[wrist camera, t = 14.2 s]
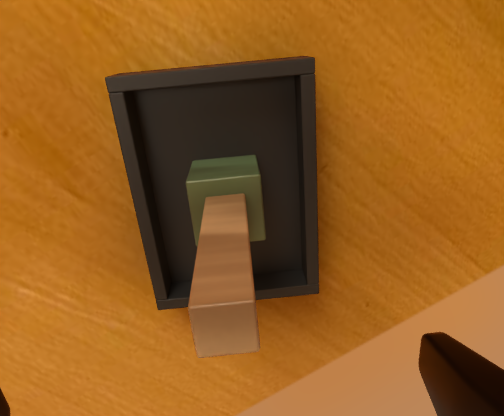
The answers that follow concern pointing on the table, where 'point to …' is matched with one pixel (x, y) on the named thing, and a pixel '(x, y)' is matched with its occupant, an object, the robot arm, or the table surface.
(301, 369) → the table surface
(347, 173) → the table surface
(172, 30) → the table surface
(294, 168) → the tray
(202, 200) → the scrub brush
